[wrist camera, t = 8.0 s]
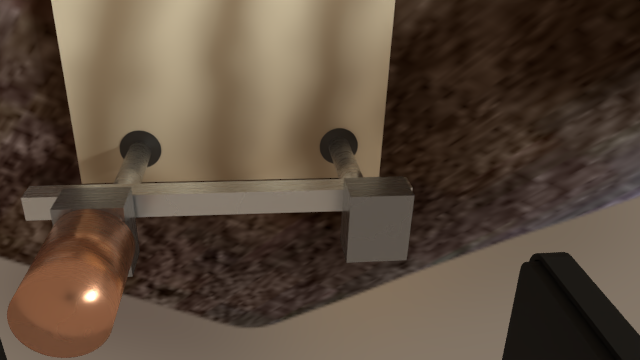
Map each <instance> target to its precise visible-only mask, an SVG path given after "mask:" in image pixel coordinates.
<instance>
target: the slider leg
mask: <svg viewBox="0 0 640 360" xmlns="http://www.w3.org/2000/svg"><path fill="white" fill-rule="evenodd" d="M150 156H151V149H150V147H149V146H148V145H147V144H146V143H144V142H134V143H133V144H131V145H130V147H129V149H128V152H127V154H126V156H125V158H124V161H123V163H122V165H121V168H120V170H119V172H118V174H117V177H116V179H115V181H114V183H113V184H141V182H142V179H143V176H144V173H145V171H146V168H147V165H148V162H149V159H150ZM50 213H51V218H52V223H53V228H52V229H51V231H50V233H49V235H48V236H47V238H46V240H45V242H44V243H43V245H42V247H41V249H40V250H39V252H38V254H37V256H36V257H35V259H34V261H33V263H32V265H31V266H30V268H29V270H28V272H27V273H26V275H25V277H24V279H23V280H22V282H21V284H20V286H19V287H18V289H17V291H16V293H15V295H14V296H13V298H12V300H11V302H10V304H9V307H8V311H7V319H8V324H9V326H10V329H11V331H12V332H13V334H14V335H15V337H16V338H17V339H18V340H19V341H20V342H21V343H23V344H24V345H25V346H27V347H28V348H30V349H32V350H34V351H36V352H38V353H41V354H44V355H47V356H52V357H61V358H70V357H77V356H82V355H85V354H88V353H90V352H92V351H94V350H96V349H97V348H99V347H100V346H101V345H102V344H103V343H104V342H105V341H106V340H107V339H108V337H109V335H110V333H111V330H112V327H113V324H114V320H115V317H116V314H117V310H118V307H119V304H120V300H121V297H122V294H123V290H124V287H125V284H126V280H127V277H133V274H134V270H135V267H136V263H137V260H138V256H139V244H138V236H137V228H136V220H135V212H134V204H133V196H132V188H131V187H95V188H63V189H62V191H61V192H60V194H59V196H58V197H57V199H56V201H55V202H54V204H53V206H52V207H51V209H50Z"/></svg>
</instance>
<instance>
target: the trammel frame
mask: <svg viewBox="0 0 640 360" xmlns="http://www.w3.org/2000/svg"><path fill="white" fill-rule="evenodd" d="M329 151H330V154H331V157H332V160H333V163H334V166H335V169H336V172H337V174H338V177H339V179H316V180H272V181H229V182H185V183H142V184H98V185H55V186H29V187H28V189H27V190H26V192H25V193H24V194H23V196H22V197H21V201H22V206H23V210H24V214H25V219H26V221H29V220H52V218H51V213H50V209H51V207H52V206H53V204H54V202H55V201H56V199H57V197H58V196H59V194H60V192H61V191H62V189H63V188H95V187H131V188H132V196H133V204H134V212H135V217H161V216H194V215H227V214H260V213H293V212H326V211H342V217H341V234H340V242H341V245H342V249H343V252H344V256H345V259H346V263H349V262H373V261H397V260H407V252H408V244H409V236H410V228H411V220H412V212H413V204H414V196H415V195H414V194H413V192H412V189H413V188H412V186H411V184H410V183H409V181H408V179H407V177H363V175H362V173H361V170H360V168H359V166H358V164H357V161H356V159H355V157H354V154H353V152H352V150H351V147H350V145H349V143H348V141H347V140H346V139H345V138H343V137H336V138H334V139H333V140H331V142H330V143H329Z"/></svg>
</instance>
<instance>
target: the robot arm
mask: <svg viewBox="0 0 640 360" xmlns="http://www.w3.org/2000/svg"><path fill="white" fill-rule="evenodd" d="M0 360H7V358H6V355H5V352H4V349H3V346H2V342H1V340H0ZM502 360H640V335H639V334H638V333H637V332H636V331H635V330H634V328H633V327H632V326H631V325H630V324H629V323H628V321H627V320H626V319H625V318H624V317H623V316H622V314H621V313H620V312H619V311H618V310H617V309H616V307H615V306H614V305H613V304H612V303H611V302H610V300H609V299H608V298H607V297H606V296H605V295H604V294H603V292H602V291H601V290H600V289H599V288H598V287H597V285H596V284H595V283H594V282H593V281H592V280H591V278H590V277H589V276H588V275H587V274H586V273H585V271H584V270H583V269H582V268H581V267H580V266H579V265H578V263H577V262H576V261H575V260H574V259H573V258H572V256H570V255H569V254H568V253H565V252H558V253H557V252H556V253H537V254H534V255H532V257H531V258H530V261H529V262H525V263H523V264H522V266H521V269H520V274H519V279H518V283H517V289H516V293H515V298H514V304H513V309H512V314H511V318H510V323H509V328H508V333H507V338H506V343H505V348H504V353H503V358H502Z"/></svg>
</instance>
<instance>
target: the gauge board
mask: <svg viewBox="0 0 640 360" xmlns="http://www.w3.org/2000/svg"><path fill="white" fill-rule="evenodd" d="M51 3H52V9H53V15H54V21H55V27H56V33H57V39H58V45H59V51H60V56H61V62H62V68H63V74H64V80H65V86H66V92H67V98H68V104H69V110H70V116H71V122H72V128H73V134H74V140H75V146H76V152H77V158H78V163H79V169H80V175H81V181H82V184H88V183H114V181H115V179H116V177H117V174H118V172H119V170H120V168H121V165H122V163H123V161H124V158H125V156H126V154H127V152H128V149H129V147H130V145H131V144H133V143H134V142H144V143H146V144H147V145H148V146H149V147H150V149H151V156H150V159H149V162H148V165H147V168H146V171H145V173H144V176H143V179H142V182H176V181H220V180H264V179H308V178H339V177H338V174H337V172H336V169H335V166H334V163H333V160H332V157H331V154H330V151H329V143H330V142H331V140H333V139H334V138H336V137H343V138H345V139H346V140H347V141H348V143H349V145H350V147H351V150H352V152H353V154H354V157H355V159H356V161H357V164H358V166H359V168H360V170H361V173H362V175H363V177H379V172H380V161H381V150H382V139H383V128H384V117H385V106H386V95H387V84H388V73H389V62H390V52H391V41H392V30H393V19H394V8H395V0H51Z"/></svg>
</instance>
